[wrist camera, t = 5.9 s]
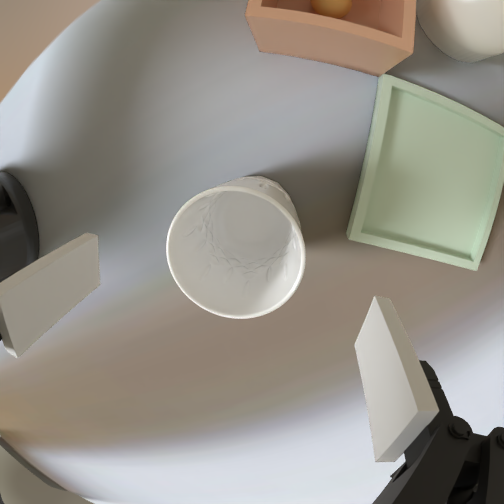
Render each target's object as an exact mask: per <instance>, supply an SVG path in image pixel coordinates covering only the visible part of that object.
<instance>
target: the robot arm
mask: <svg viewBox="0 0 504 504" xmlns="http://www.w3.org/2000/svg"><path fill="white" fill-rule="evenodd" d="M38 252H39V238H38V229H37V223H36V219H35V215H34V212H33V208H32V206H31V203H30V201H29V198H28V196H27V194H26V192H25V190H24V189H23V187H22V186H21V184H20V183H19V182H18V181H17V180H16V179H15V178H14V177H13V176H12V175H10V174H9V173H6V172H0V341H1V340H2V341H3V343H4V346H5V349H6V351H7V352H8V353H10V354H12V355H13V356H15V357H16V358H19V357H20V356H21V355H22V354H23V353H24V352H25V351H26V350H27V349H28V348H29V347H30V346H31V345H33V344H34V343H35V342H36V341H37V340H38V339H39V338H40V337H41V336H42V335H43V334H44V333H46V332H47V331H48V330H49V329H50V328H51V327H52V326H53V325H54V324H55V323H57V322H58V321H59V320H60V319H61V318H62V317H63V316H64V315H66V314H67V313H68V312H69V311H70V310H71V309H72V308H74V307H75V306H76V305H77V304H78V303H79V302H81V301H82V300H83V299H84V298H85V297H86V296H88V295H89V294H90V293H91V292H92V291H94V290H95V289H96V288H97V287H98V286H100V272H99V250H98V235H94V234H90V233H85V234H83V235H81V236H79V237H77V238H75V239H74V240H72V241H70V242H68V243H66V244H64V245H63V246H61V247H59V248H57V249H55V250H54V251H52V252H50V253H48V254H47V255H45V256H43V257H41V258H40V259H38ZM37 259H38V260H37ZM355 349H356V354H357V359H358V363H359V368H360V373H361V378H362V383H363V389H364V394H365V399H366V405H367V411H368V417H369V423H370V429H371V435H372V442H373V449H374V456H375V462H395V461H396V460H397V459H398V458H399V457H400V456H401V455H402V454H403V453H404V454H405V459H406V462H405V463H404V464H403V465H402V466H401V467H399V468H398V469H397V470H396V471H395V472H394V473H393V474H392V475H391V476H390V477H392V479H391V481H390V482H389V483H388V485H387V486H386V487H385V489H384V490H383V491H382V492H381V494H380V495H379V496H378V497H377V499H376V500H375V501H374V502H373V504H504V428H503V427H496V428H494V429H493V430H492V431H491V432H490V434H489V435H488V436H484V435H479V434H475V433H473V432H472V428H471V427H470V425H469V424H468V423H467V422H466V421H465V420H464V419H462V418H460V417H457V416H453V413H452V411H451V408H450V406H449V403H448V401H447V399H446V396H445V394H444V392H443V389H441V388H442V387H441V385H440V382H438V378H437V376H436V374H435V371H434V370H433V368H432V367H431V366H430V365H429V364H428V363H427V362H426V361H421V360H419V359H418V357H417V355H416V353H415V350H414V348H413V346H412V344H411V342H410V339H409V337H408V335H407V333H406V331H405V329H404V327H403V325H402V323H401V320H400V318H399V316H398V314H397V312H396V310H395V308H394V306H393V304H392V302H391V300H390V298H385V297H379V296H374V298H373V301H372V303H371V306H370V309H369V311H368V314H367V316H366V319H365V321H364V323H363V326H362V328H361V331H360V333H359V335H358V338H357V340H356V342H355ZM0 504H4V503H3V501H2V498H1V495H0Z"/></svg>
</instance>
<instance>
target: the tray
mask: <svg viewBox="0 0 504 504" xmlns="http://www.w3.org/2000/svg"><path fill="white" fill-rule="evenodd" d="M503 183H504V127H502V126H501V125H499V124H497V123H496V122H494V121H492V120H490V119H488V118H487V117H485V116H483V115H481V114H479V113H477V112H475V111H473V110H472V109H470V108H468V107H466V106H464V105H461V104H459V103H457V102H455V101H453V100H451V99H449V98H446V97H444V96H442V95H440V94H437V93H435V92H433V91H430V90H428V89H425V88H423V87H420V86H418V85H415V84H413V83H410V82H407V81H405V80H402V79H399V78H396V77H393V76H390V75H387V74H382V75H381V76H380V77H379V79H378V85H377V92H376V98H375V104H374V110H373V116H372V121H371V126H370V132H369V137H368V142H367V147H366V152H365V157H364V161H363V166H362V170H361V175H360V179H359V184H358V188H357V192H356V196H355V200H354V204H353V208H352V212H351V216H350V220H349V224H348V228H347V231H346V235H347V237H348V239H349V240H353V241H357V242H361V243H366V244H370V245H374V246H379V247H383V248H387V249H391V250H396V251H400V252H404V253H408V254H412V255H416V256H420V257H424V258H428V259H432V260H436V261H440V262H444V263H448V264H452V265H456V266H459V267H463V268H467V269H471V270H474V271H477V268H478V266H479V263H480V261H481V258H482V255H483V252H484V249H485V247H486V244H487V241H488V238H489V235H490V231H491V228H492V225H493V222H494V218H495V215H496V211H497V207H498V204H499V200H500V196H501V192H502V187H503Z"/></svg>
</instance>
